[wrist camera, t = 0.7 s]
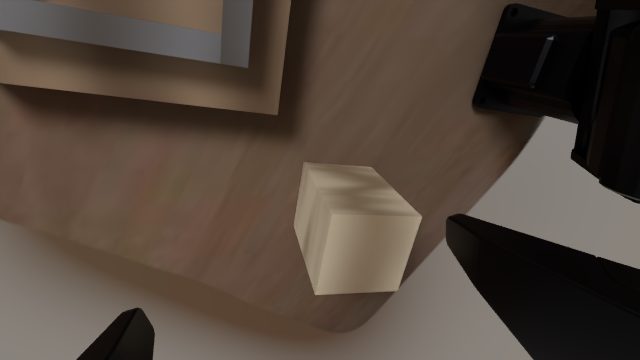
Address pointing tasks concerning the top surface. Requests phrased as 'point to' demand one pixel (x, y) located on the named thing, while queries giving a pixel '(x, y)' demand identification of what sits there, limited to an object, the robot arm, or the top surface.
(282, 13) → the brown wooden flat tray
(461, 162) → the top surface
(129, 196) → the top surface
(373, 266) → the birch block
